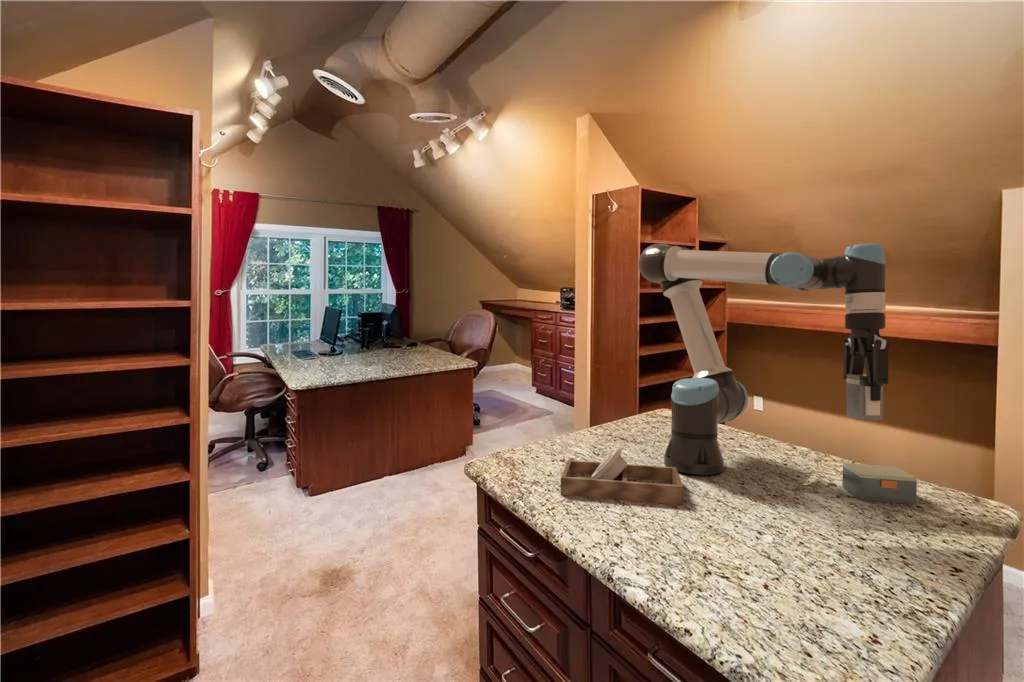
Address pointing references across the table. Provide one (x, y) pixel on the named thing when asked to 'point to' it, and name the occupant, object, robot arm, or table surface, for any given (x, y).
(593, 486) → the parts corral
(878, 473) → the grey-green storage box
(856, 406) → the column
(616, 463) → the beige piece
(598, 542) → the table surface
